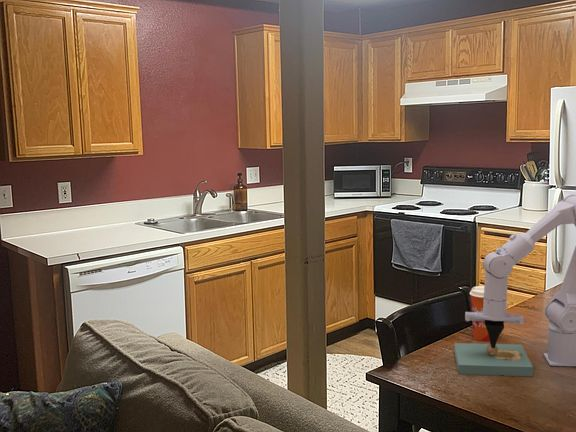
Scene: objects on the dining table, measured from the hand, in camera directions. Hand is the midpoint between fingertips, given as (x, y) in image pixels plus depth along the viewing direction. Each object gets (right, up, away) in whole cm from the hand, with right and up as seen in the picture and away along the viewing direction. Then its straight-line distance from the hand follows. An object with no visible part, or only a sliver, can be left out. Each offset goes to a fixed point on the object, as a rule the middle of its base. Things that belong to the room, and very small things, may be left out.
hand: (492, 348), depth 163 cm
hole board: (0, -4, +1) cm, 4 cm away
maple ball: (0, 0, 0) cm, 0 cm away
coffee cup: (+4, -2, +20) cm, 21 cm away
